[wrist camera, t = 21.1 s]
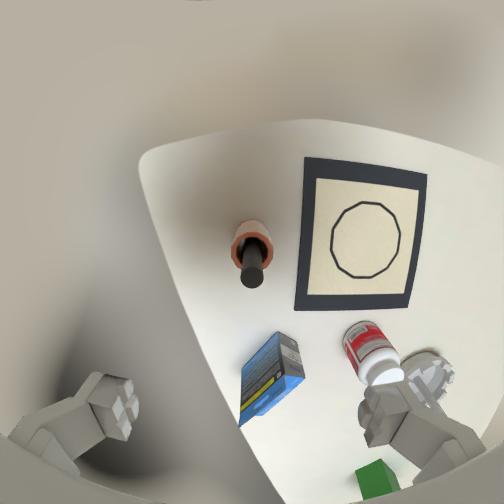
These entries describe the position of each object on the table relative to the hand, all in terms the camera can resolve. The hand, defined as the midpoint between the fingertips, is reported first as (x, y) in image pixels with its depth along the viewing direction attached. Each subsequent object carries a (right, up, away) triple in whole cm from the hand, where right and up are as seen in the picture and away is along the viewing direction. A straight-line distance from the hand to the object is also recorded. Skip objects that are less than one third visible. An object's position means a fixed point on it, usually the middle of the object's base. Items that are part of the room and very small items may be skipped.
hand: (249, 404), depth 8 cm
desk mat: (+15, +7, +26) cm, 31 cm away
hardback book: (+35, -57, +43) cm, 80 cm away
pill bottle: (+17, -8, +30) cm, 35 cm away
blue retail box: (+3, -10, +31) cm, 33 cm away
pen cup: (0, +7, +26) cm, 27 cm away
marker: (0, +7, +26) cm, 27 cm away
